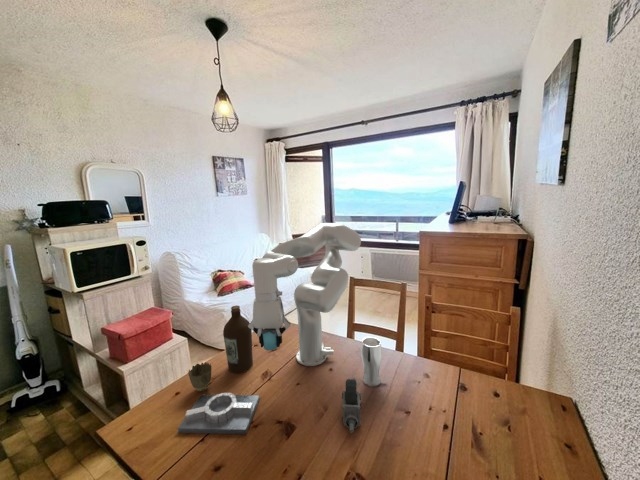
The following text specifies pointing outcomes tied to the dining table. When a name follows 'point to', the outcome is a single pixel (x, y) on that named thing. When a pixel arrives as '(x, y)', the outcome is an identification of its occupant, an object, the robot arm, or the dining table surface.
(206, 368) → the cup
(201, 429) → the coupling base
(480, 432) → the dining table surface
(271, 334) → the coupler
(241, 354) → the olive oil
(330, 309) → the robot arm
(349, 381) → the caster wheel
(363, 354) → the beer glass
